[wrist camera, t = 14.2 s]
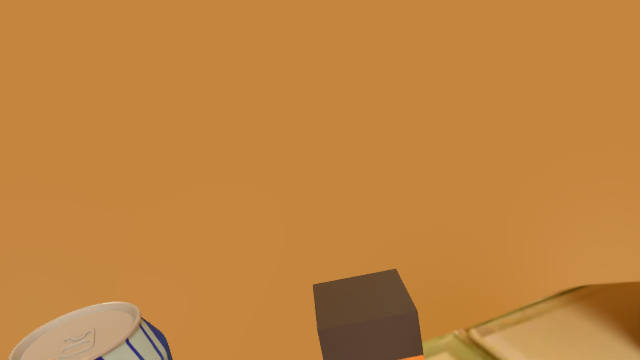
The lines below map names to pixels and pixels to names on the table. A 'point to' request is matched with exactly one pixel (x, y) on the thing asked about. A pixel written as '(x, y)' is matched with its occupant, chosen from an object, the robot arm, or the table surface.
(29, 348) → the beer can
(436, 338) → the table surface
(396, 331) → the orange lever
